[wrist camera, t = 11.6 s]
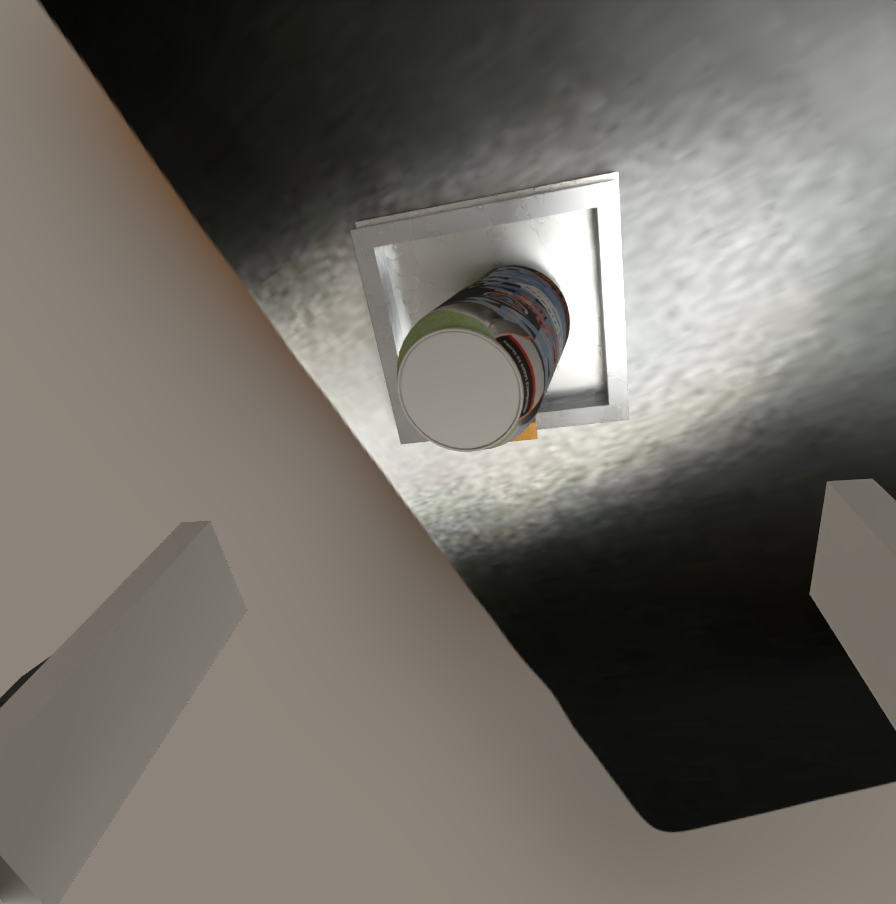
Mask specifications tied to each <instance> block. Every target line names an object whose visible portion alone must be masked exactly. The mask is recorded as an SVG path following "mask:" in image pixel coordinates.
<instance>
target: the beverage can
mask: <svg viewBox="0 0 896 904" xmlns="http://www.w3.org/2000/svg"><path fill="white" fill-rule="evenodd" d="M569 331H570V314H569V309H568V305H567V303H566V300H565V298H564V296H563V294H562V292H561V291H560V289H559V288H558V287H557V286H556V284H555V283H554V282H553V281H552V280H551V279H549V278H548V277H547V276H545V275H544V274H543V273H541V272H539V271H537V270H535V269H532V268H528V267H525V266H516V265H511V266H502V267H499V268H495V269H493V270H491V271H488V272H486V273H485V274H483V275H482V276H480V277H479V278H478V279H476V280H475V281H473V282H472V283H471V284H469V285H468V286H466V287H465V288H463V289H462V290H461V291H459V292H458V293H456V294H455V295H454V296H452V297H451V298H449V299H448V300H447V301H445V302H444V303H442V304H441V305H439V306H438V307H437V308H435V309H434V310H432V311H431V312H430V313H428V314H427V315H426V316H424V317H423V318H421V319H420V320H419V321H418V322H417V323H416V324H415V325H414V326H413V327H412V328H411V330H410V331H409V333H408V334H407V336H406V338H405V339H404V341H403V344H402V346H401V349H400V351H399V356H398V361H397V389H398V396H399V400H400V403H401V406H402V409H403V411H404V413H405V415H406V417H407V419H408V420H409V421H410V423H411V424H412V425H413V427H414V428H415V429H416V430H417V431H418V432H419V433H420V434H421V435H423V436H424V437H425V438H427V439H428V440H429V441H431V442H433V443H435V444H436V445H438V446H441V447H444V448H446V449H449V450H454V451H461V452H472V451H479V450H484V449H491V448H494V447H498V446H501V445H503V444H505V443H507V442H509V441H511V440H513V439H515V438H516V437H517V436H518V435H520V434H521V433H522V432H523V431H525V429H526V428H527V427H528V426H529V425H530V424H531V422H532V421H533V420H534V418H535V416H536V414H537V413H538V411H539V409H540V406H541V404H542V401H543V399H544V397H545V394H546V392H547V389H548V387H549V384H550V382H551V380H552V377H553V375H554V372H555V370H556V367H557V365H558V363H559V360H560V358H561V355H562V353H563V350H564V348H565V346H566V343H567V340H568V337H569Z"/></svg>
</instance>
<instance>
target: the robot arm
mask: <svg viewBox="0 0 896 904" xmlns="http://www.w3.org/2000/svg"><path fill="white" fill-rule="evenodd" d="M810 595H811V597H812V598H813V600H814V601H815V603H816V605H817V606H818V608H819V609H820V611H821V613H822V614H823V616H824V617H825V619H826V620H827V622H828V624H829V625H830V627H831V628H832V630H833V632H834V633H835V635H836V636H837V638H838V640H839V641H840V643H841V644H842V646H843V647H844V649H845V651H846V652H847V654H848V655H849V657H850V659H851V660H852V662H853V663H854V665H855V666H856V668H857V670H858V671H859V673H860V674H861V676H862V678H863V679H864V681H865V682H866V684H867V686H868V687H869V689H870V690H871V692H872V693H873V695H874V697H875V698H876V700H877V701H878V703H879V705H880V706H881V708H882V709H883V711H884V712H885V714H886V716H887V717H888V719H889V720H890V722H891V724H892V725H893V727H894V728H895V730H896V501H895V500H894V499H893V498H892V497H891V496H890V495H889V494H888V493H887V492H886V491H885V490H884V489H883V488H882V487H881V486H880V485H878V484H877V483H876V482H875V481H874V480H873V479H860V480H844V481H828V482H827V486H826V492H825V499H824V505H823V512H822V518H821V525H820V531H819V538H818V544H817V550H816V557H815V563H814V570H813V576H812V583H811V589H810ZM246 611H247V609H246V606H245V604H244V601H243V599H242V596H241V594H240V592H239V589H238V587H237V584H236V582H235V580H234V577H233V575H232V572H231V570H230V567H229V565H228V563H227V560H226V558H225V555H224V553H223V550H222V548H221V546H220V543H219V541H218V538H217V536H216V534H215V531H214V529H213V526H212V524H211V521H199V522H182V523H181V524H180V525H179V526H178V527H177V528H176V529H175V530H174V531H173V532H172V533H171V534H170V535H169V536H168V537H167V538H166V539H165V540H164V541H163V542H162V543H161V544H160V545H159V546H158V547H157V548H156V549H155V550H154V551H153V552H152V553H151V554H150V556H148V557H147V558H146V559H145V560H144V562H143V563H142V564H141V565H140V566H139V567H138V568H137V569H136V570H135V571H134V572H133V573H132V574H131V575H130V576H129V577H128V578H127V579H126V580H125V581H124V582H123V583H122V584H121V585H120V586H119V587H118V588H117V589H116V590H115V591H114V592H113V593H112V594H111V595H110V596H109V597H108V598H107V599H106V600H105V601H104V603H102V605H101V606H100V607H99V608H98V609H97V610H96V611H95V612H94V613H93V614H92V615H91V616H90V617H89V618H88V619H87V620H86V621H85V622H84V623H83V624H82V625H81V626H80V627H79V628H78V629H77V630H76V631H75V632H74V633H73V634H72V635H71V636H70V637H69V638H68V639H67V641H66V642H64V643H63V645H61V647H60V648H59V649H58V650H57V651H56V652H55V653H54V654H53V655H52V656H50V657H49V658H48V659H46V660H45V661H43V662H42V663H40V664H39V665H38V666H36V667H35V668H33V669H32V670H30V671H29V672H28V673H26V674H25V675H23V676H22V677H21V678H20V679H19V680H18V681H17V682H16V683H15V684H14V685H13V686H12V687H11V688H10V689H9V690H8V691H7V692H6V693H5V694H4V695H3V696H2V697H1V698H0V899H1V900H2V901H3V902H4V903H5V904H59V903H60V901H61V899H62V898H63V896H64V895H65V893H66V892H67V890H68V889H69V887H70V885H71V884H72V882H73V881H74V879H75V878H76V876H77V875H78V873H79V871H80V870H81V868H82V867H83V865H84V863H85V862H86V860H87V859H88V857H89V856H90V854H91V853H92V851H93V850H94V848H95V846H96V845H97V843H98V842H99V840H100V839H101V837H102V836H103V834H104V832H105V831H106V829H107V828H108V826H109V825H110V823H111V822H112V820H113V818H114V817H115V815H116V814H117V812H118V811H119V809H120V807H121V806H122V804H123V803H124V801H125V799H126V798H127V796H128V795H129V793H130V792H131V790H132V789H133V787H134V785H135V784H136V782H137V781H138V779H139V778H140V776H141V775H142V773H143V772H144V770H145V768H146V767H147V765H148V764H149V762H150V761H151V759H152V757H153V756H154V754H155V753H156V751H157V750H158V748H159V747H160V745H161V744H162V742H163V740H164V739H165V737H166V736H167V734H168V733H169V731H170V729H171V728H172V726H173V725H174V723H175V722H176V720H177V719H178V717H179V715H180V714H181V712H182V711H183V709H184V708H185V706H186V705H187V703H188V701H189V700H190V698H191V697H192V695H193V694H194V692H195V690H196V689H197V687H198V686H199V684H200V683H201V681H202V680H203V678H204V676H205V675H206V673H207V672H208V670H209V669H210V667H211V666H212V664H213V662H214V661H215V659H216V658H217V656H218V655H219V653H220V651H221V650H222V648H223V647H224V645H225V644H226V642H227V641H228V639H229V637H230V636H231V634H232V633H233V631H234V630H235V628H236V627H237V625H238V623H239V622H240V620H241V619H242V617H243V616H244V614H245V612H246Z"/></svg>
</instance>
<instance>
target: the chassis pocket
mask: <svg viewBox="0 0 896 904" xmlns="http://www.w3.org/2000/svg"><path fill="white" fill-rule="evenodd" d="M355 224H356V228H355V229H352V230H350V232H351V236H352V241H353V245H354V249H355V253H356V257H357V262H358V266H359V270H360V274H361V278H362V283H363V287H364V291H365V295H366V299H367V304H368V308H369V312H370V316H371V320H372V325H373V329H374V333H375V337H376V342H377V346H378V350H379V354H380V358H381V363H382V367H383V371H384V375H385V379H386V384H387V388H388V392H389V396H390V400H391V405H392V409H393V413H394V417H395V421H396V426H397V430H398V434H399V438H400V442H401V444H408V443H417V442H426V441H429V440H428V439H427V438H425V437H424V436H423V435H421V434H420V433H419V432H418V431H417V430H416V429H415V428H414V427H413V425H412V424H411V423H410V421H409V420H408V419H407V417H406V415H405V413H404V411H403V409H402V406H401V403H400V400H399V396H398V389H397V361H398V356H399V351H400V349H401V346H402V344H403V341H404V339H405V338H406V336H407V334H408V333H409V331H410V330H411V328H412V327H413V326H414V325H415V324H416V323H417V322H418V321H419V320H420V319H421V318H423V317H424V316H426V315H427V314H428V313H430V312H431V311H432V310H434V309H435V308H437V307H438V306H439V305H441V304H442V303H444V302H445V301H447V300H448V299H449V298H451V297H452V296H454V295H455V294H456V293H458V292H459V291H461V290H462V289H463V288H465V287H466V286H468V285H469V284H471V283H472V282H473V281H475V280H476V279H478V278H479V277H480V276H482V275H483V274H485V273H486V272H488V271H491V270H493V269H495V268H499V267H502V266H511V265H516V266H525V267H528V268H532V269H535V270H537V271H539V272H541V273H543V274H544V275H545V276H547V277H548V278H549V279H551V280H552V281H553V282H554V283H555V284H556V286H557V287H558V288H559V289H560V291H561V292H562V294H563V296H564V298H565V300H566V303H567V305H568V309H569V314H570V331H569V337H568V340H567V343H566V346H565V348H564V350H563V353H562V355H561V358H560V360H559V363H558V365H557V367H556V370H555V372H554V375H553V377H552V380H551V382H550V384H549V387H548V389H547V392H546V394H545V397H544V399H543V401H542V404H541V406H540V409H539V411H538V413H537V414H536V416H535V418H534V420H533V421H532V422H531V424H530V425H529V426H528V427H527V428H526V429H525V431H523V432H522V433H521V434H520V435H518V436H517V437H516V438H515V439H513V440H511V441H509V442H512V441H521V440H531V439H537V430H538V429H547V428H557V427H566V426H575V425H585V424H594V423H603V422H613V421H622V420H629V405H628V383H627V360H626V337H625V314H624V292H623V269H622V246H621V224H620V201H619V180H618V172H611V173H606V174H601V175H596V176H591V177H585V178H580V179H575V180H570V181H564V182H559V183H554V184H549V185H544V186H538V187H533V188H528V189H523V190H518V191H512V192H507V193H502V194H497V195H491V196H486V197H481V198H476V199H471V200H465V201H460V202H455V203H450V204H444V205H439V206H434V207H429V208H424V209H418V210H413V211H408V212H403V213H398V214H392V215H387V216H382V217H377V218H371V219H366V220H361V221H358V222H355Z"/></svg>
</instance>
